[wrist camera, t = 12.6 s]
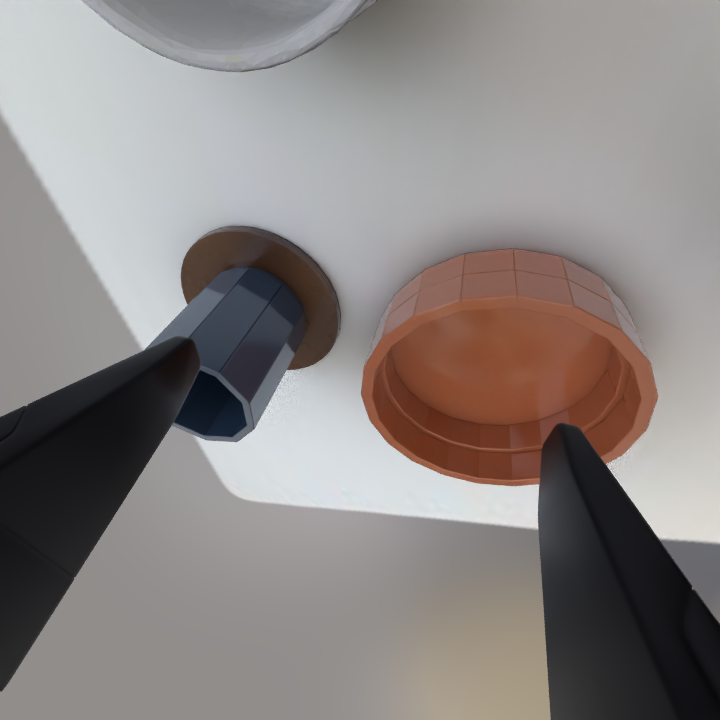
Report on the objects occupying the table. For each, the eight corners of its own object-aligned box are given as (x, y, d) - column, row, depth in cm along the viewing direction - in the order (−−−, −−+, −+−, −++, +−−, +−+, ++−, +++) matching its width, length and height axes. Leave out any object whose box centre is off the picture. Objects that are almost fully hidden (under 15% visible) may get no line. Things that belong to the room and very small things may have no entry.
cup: (304, 274, 21) (242, 369, 16) (307, 358, 26) (259, 454, 20) (203, 255, 22) (111, 338, 17) (222, 339, 26) (154, 427, 21)
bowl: (692, 271, 17) (738, 336, 14) (562, 444, 26) (572, 507, 23) (393, 221, 19) (373, 268, 16) (370, 400, 28) (354, 453, 25)
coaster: (343, 243, 20) (340, 249, 20) (338, 377, 27) (335, 383, 27) (166, 211, 21) (160, 216, 21) (204, 347, 28) (200, 352, 28)
